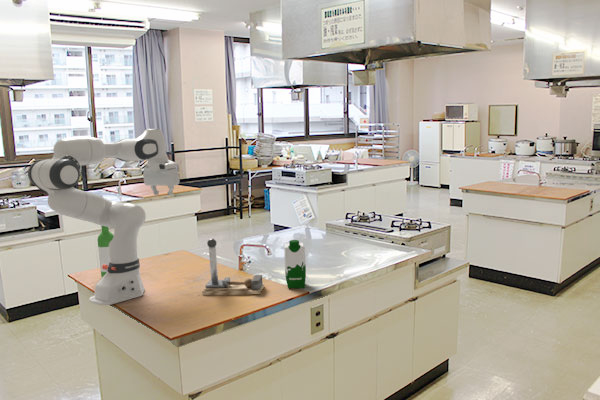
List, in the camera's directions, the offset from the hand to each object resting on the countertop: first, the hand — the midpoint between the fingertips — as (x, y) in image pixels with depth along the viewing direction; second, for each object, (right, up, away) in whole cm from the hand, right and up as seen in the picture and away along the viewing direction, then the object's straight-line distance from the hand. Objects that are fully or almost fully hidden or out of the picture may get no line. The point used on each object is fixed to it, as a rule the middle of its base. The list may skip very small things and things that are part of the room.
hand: (163, 195), depth 224 cm
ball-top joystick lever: (+28, -39, -16) cm, 50 cm away
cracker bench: (+34, -40, -17) cm, 55 cm away
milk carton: (+60, -39, -14) cm, 73 cm away
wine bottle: (-29, -39, +12) cm, 50 cm away
